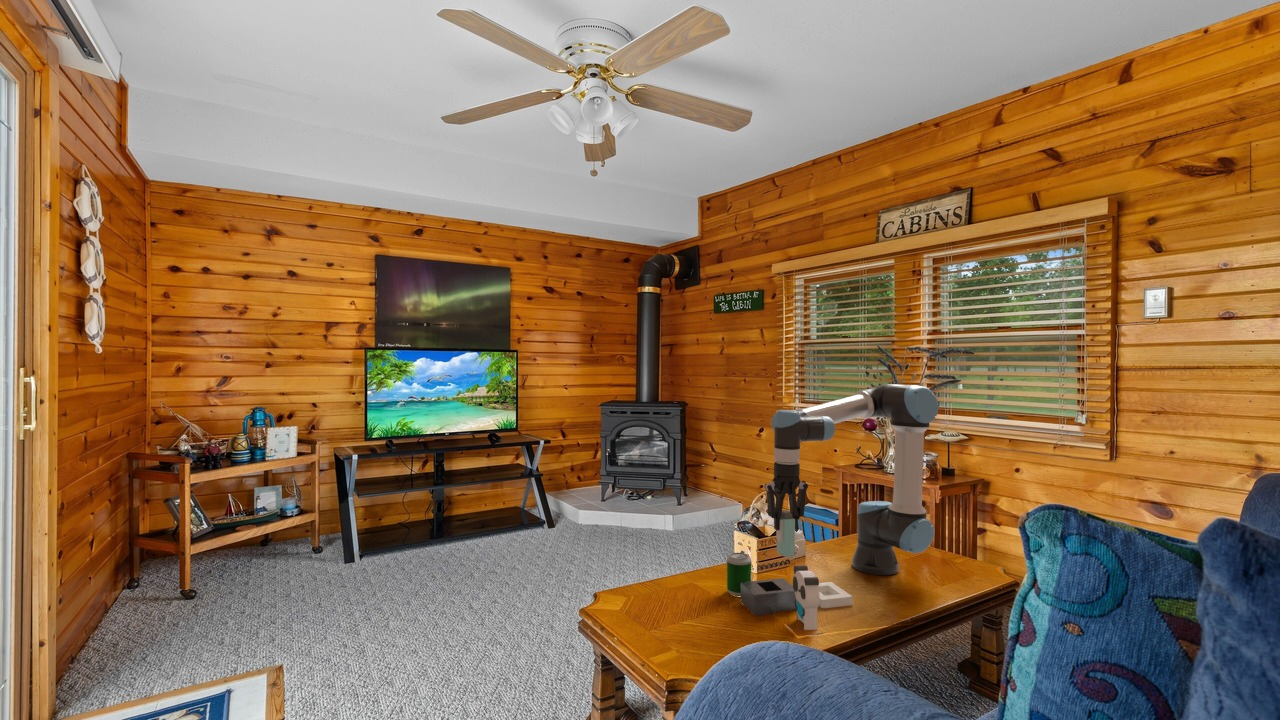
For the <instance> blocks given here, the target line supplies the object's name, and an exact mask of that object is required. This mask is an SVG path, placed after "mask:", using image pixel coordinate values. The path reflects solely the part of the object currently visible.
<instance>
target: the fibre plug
mask: <svg viewBox="0 0 1280 720" xmlns="http://www.w3.org/2000/svg"><path fill="white" fill-rule="evenodd" d="M781 519H782V520H783V542H779V541H778V540H776V553H778V554H780V555H781V556H782V557H783V558H787V557H788V558H789V557H795V541H796V529H795V519H794V518H792V513H791V512H790V511H789V510H787V509H785V510H783V509H782V513H781Z"/></svg>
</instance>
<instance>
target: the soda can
mask: <svg viewBox="0 0 1280 720" xmlns="http://www.w3.org/2000/svg"><path fill="white" fill-rule="evenodd" d="M748 581H752V558H751V557H750V556H749V555H748V553H743V552H733V553H730V554H729V556H728V557H726V590H727V592H728V594H729V595H730V594H732V595H735V596H741V582H748ZM732 595H731V596H732Z"/></svg>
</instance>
